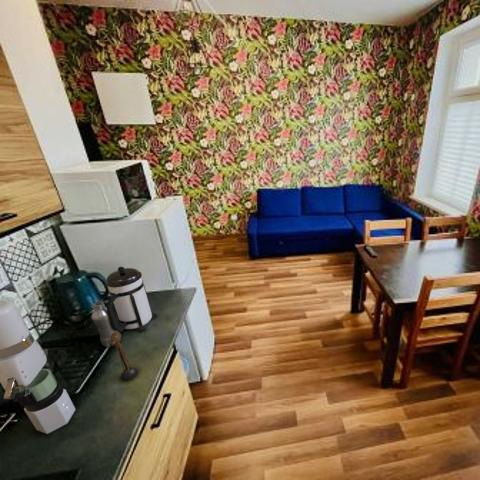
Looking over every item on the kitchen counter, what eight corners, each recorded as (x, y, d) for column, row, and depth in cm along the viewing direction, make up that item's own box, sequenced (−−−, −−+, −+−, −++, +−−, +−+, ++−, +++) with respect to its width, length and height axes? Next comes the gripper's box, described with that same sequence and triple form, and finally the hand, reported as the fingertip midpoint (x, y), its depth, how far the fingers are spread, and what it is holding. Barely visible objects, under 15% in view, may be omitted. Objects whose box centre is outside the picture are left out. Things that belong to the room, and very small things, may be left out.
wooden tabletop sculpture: (133, 382, 95) (118, 339, 87) (118, 385, 94) (101, 341, 86) (139, 369, 100) (124, 327, 92) (124, 371, 99) (109, 329, 91)
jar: (63, 430, 80) (48, 403, 75) (30, 437, 78) (12, 410, 73) (80, 403, 88) (67, 377, 83) (50, 408, 86) (35, 382, 81)
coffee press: (113, 323, 123) (93, 266, 111) (152, 309, 133) (137, 255, 121) (119, 345, 111) (96, 283, 99) (161, 327, 121) (145, 270, 109)
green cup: (15, 408, 74) (6, 394, 71) (32, 385, 80) (24, 372, 78) (48, 400, 76) (41, 387, 74) (62, 379, 82) (56, 366, 80)
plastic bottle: (103, 351, 108) (87, 311, 100) (102, 341, 112) (86, 302, 105) (122, 344, 111) (108, 304, 104) (120, 335, 116) (107, 296, 109)
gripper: (17, 326, 77) (41, 370, 84) (-34, 375, 62) (0, 424, 69) (49, 321, 79) (70, 364, 86) (7, 367, 64) (37, 415, 71)
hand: (39, 390), depth 78 cm, fingers open, 7 cm apart
